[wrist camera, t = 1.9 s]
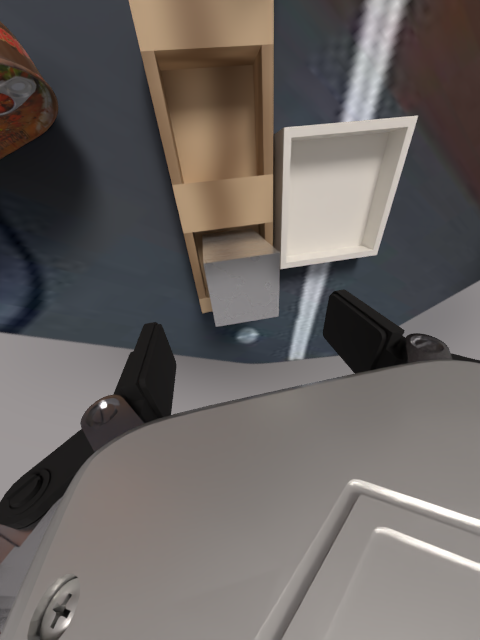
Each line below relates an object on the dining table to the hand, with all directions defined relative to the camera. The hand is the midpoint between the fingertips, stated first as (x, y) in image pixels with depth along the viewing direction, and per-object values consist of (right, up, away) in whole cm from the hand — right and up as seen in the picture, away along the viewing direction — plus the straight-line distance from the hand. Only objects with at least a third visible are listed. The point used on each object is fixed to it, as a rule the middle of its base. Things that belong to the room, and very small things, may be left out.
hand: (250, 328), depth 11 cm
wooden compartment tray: (-2, +12, +8) cm, 14 cm away
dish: (+8, +13, +9) cm, 18 cm away
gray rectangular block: (-2, +7, +10) cm, 13 cm away
